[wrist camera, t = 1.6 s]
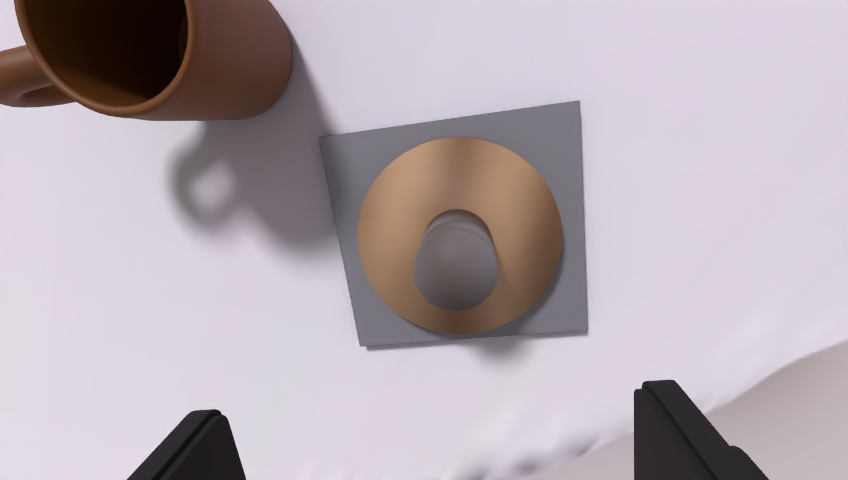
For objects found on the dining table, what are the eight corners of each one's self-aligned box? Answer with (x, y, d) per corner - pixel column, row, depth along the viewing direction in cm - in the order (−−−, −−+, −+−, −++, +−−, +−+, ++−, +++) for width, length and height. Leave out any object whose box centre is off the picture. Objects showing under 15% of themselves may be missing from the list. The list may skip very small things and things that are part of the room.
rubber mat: (576, 101, 24) (579, 100, 23) (584, 324, 27) (587, 330, 26) (322, 136, 25) (318, 137, 25) (362, 340, 29) (360, 346, 28)
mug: (151, 159, 27) (-7, 179, 18) (92, 38, 25) (-117, -7, 16) (316, 95, 25) (232, 82, 16) (264, -42, 23) (135, -145, 14)
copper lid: (552, 122, 23) (582, 124, 17) (562, 317, 26) (590, 374, 20) (346, 151, 25) (308, 161, 19) (378, 331, 28) (355, 388, 22)
